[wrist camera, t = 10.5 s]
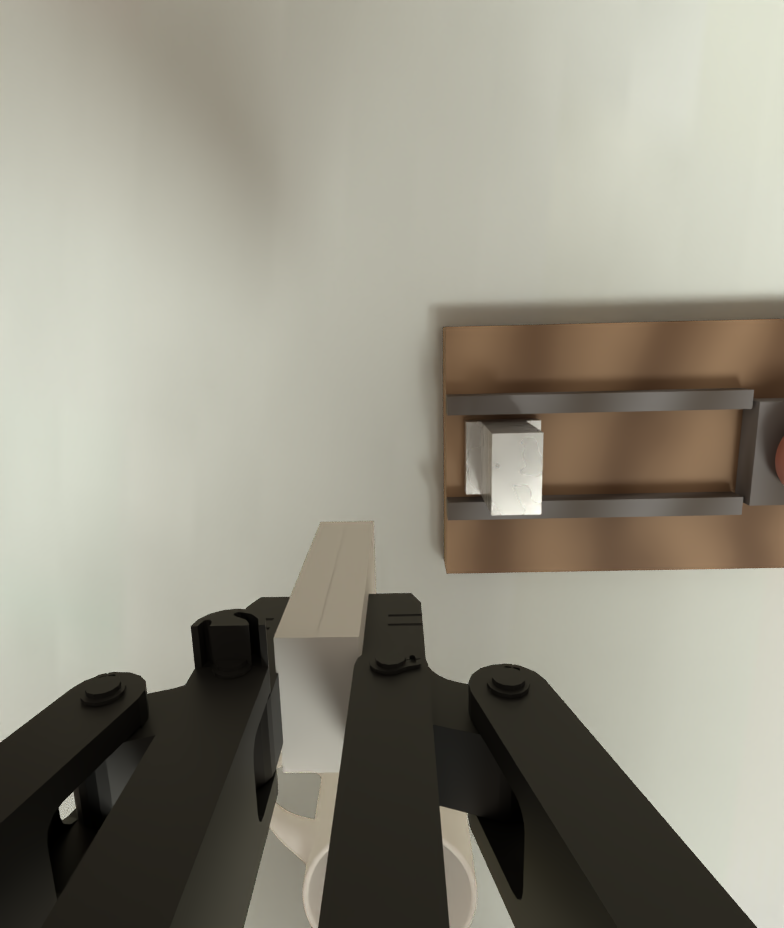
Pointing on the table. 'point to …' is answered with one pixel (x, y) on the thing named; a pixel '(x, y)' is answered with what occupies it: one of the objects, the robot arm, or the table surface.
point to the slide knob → (505, 464)
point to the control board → (623, 444)
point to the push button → (780, 461)
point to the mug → (314, 840)
